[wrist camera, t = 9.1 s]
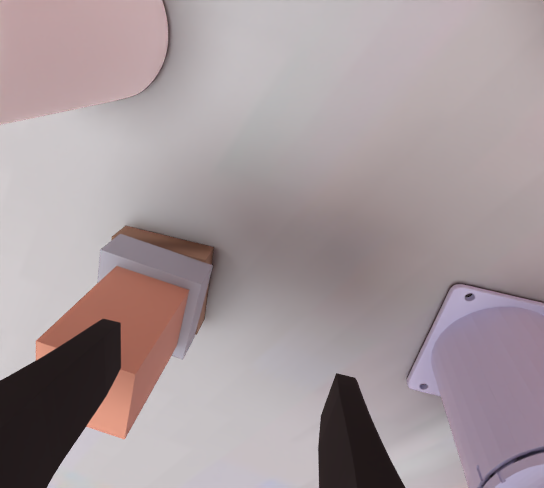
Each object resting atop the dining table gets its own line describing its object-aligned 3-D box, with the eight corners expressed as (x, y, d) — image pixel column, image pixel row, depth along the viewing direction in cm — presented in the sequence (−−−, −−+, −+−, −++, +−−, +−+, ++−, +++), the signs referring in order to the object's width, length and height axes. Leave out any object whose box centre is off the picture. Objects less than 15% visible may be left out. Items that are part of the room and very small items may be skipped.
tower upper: (213, 265, 21) (201, 284, 20) (194, 337, 24) (182, 359, 22) (120, 233, 21) (100, 249, 20) (111, 308, 24) (93, 328, 22)
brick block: (189, 289, 20) (135, 374, 15) (177, 345, 22) (124, 439, 16) (116, 265, 20) (35, 341, 15) (110, 323, 22) (36, 409, 16)
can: (109, 123, 20) (-141, 200, 10) (16, 7, 18) (-419, -56, 8) (199, 44, 18) (1, 31, 7) (104, -98, 16) (-348, -393, 5)
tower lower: (215, 244, 23) (205, 260, 21) (206, 315, 26) (196, 334, 24) (128, 222, 23) (111, 237, 22) (127, 295, 26) (112, 313, 24)
